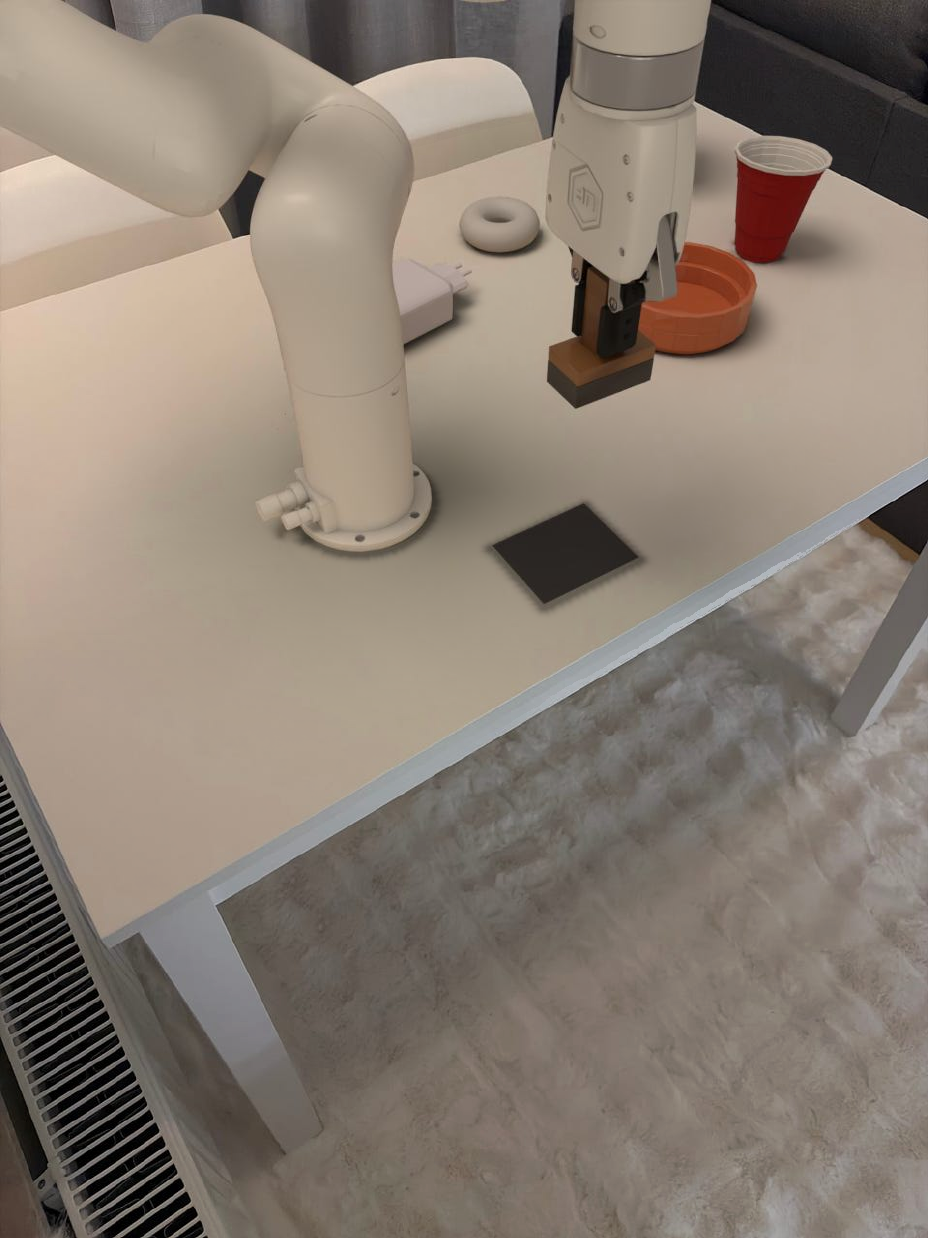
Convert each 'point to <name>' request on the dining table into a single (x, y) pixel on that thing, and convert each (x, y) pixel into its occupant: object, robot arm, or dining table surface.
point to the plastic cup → (773, 192)
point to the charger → (425, 294)
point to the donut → (499, 224)
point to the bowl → (701, 303)
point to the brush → (596, 355)
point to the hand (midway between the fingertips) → (603, 338)
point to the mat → (564, 552)
